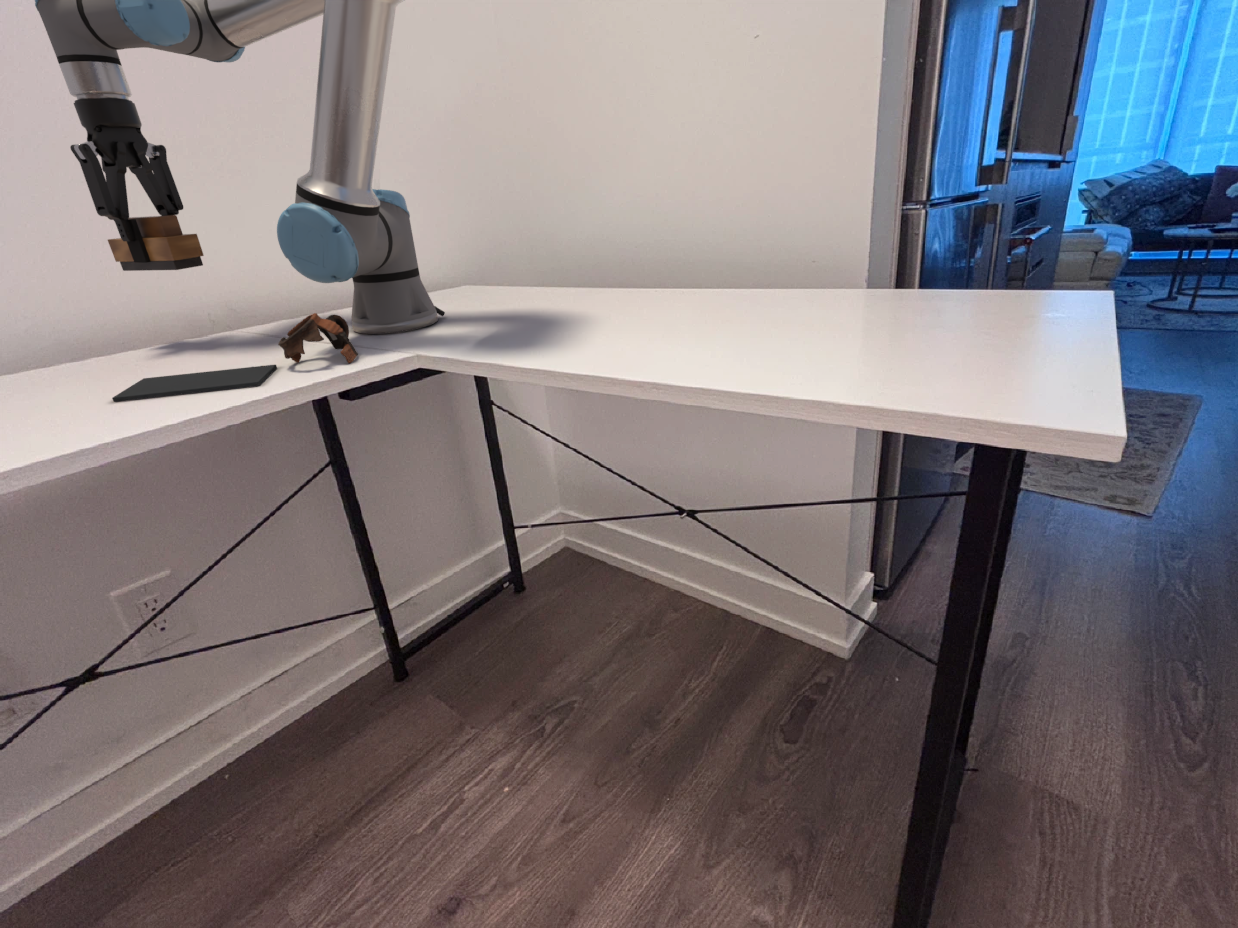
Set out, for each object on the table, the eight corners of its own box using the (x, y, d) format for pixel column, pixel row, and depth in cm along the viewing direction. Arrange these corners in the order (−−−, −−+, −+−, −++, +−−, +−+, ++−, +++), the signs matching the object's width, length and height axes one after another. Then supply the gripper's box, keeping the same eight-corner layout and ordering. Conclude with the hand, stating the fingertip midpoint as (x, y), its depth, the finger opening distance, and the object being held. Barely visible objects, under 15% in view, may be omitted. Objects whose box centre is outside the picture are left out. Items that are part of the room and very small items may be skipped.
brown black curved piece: (348, 372, 91) (304, 327, 87) (305, 398, 94) (261, 356, 90) (377, 331, 100) (338, 290, 96) (337, 357, 104) (298, 317, 99)
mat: (277, 368, 93) (276, 364, 93) (259, 386, 85) (258, 381, 85) (145, 382, 90) (143, 378, 90) (113, 402, 82) (111, 397, 82)
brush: (119, 271, 104) (99, 219, 100) (150, 266, 108) (132, 216, 105) (177, 270, 100) (159, 216, 96) (207, 265, 105) (190, 214, 101)
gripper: (142, 105, 103) (191, 252, 113) (17, 96, 87) (87, 268, 97) (177, 101, 100) (224, 251, 110) (55, 91, 85) (122, 267, 95)
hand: (160, 259), depth 104 cm, fingers closed on brush, 6 cm apart
